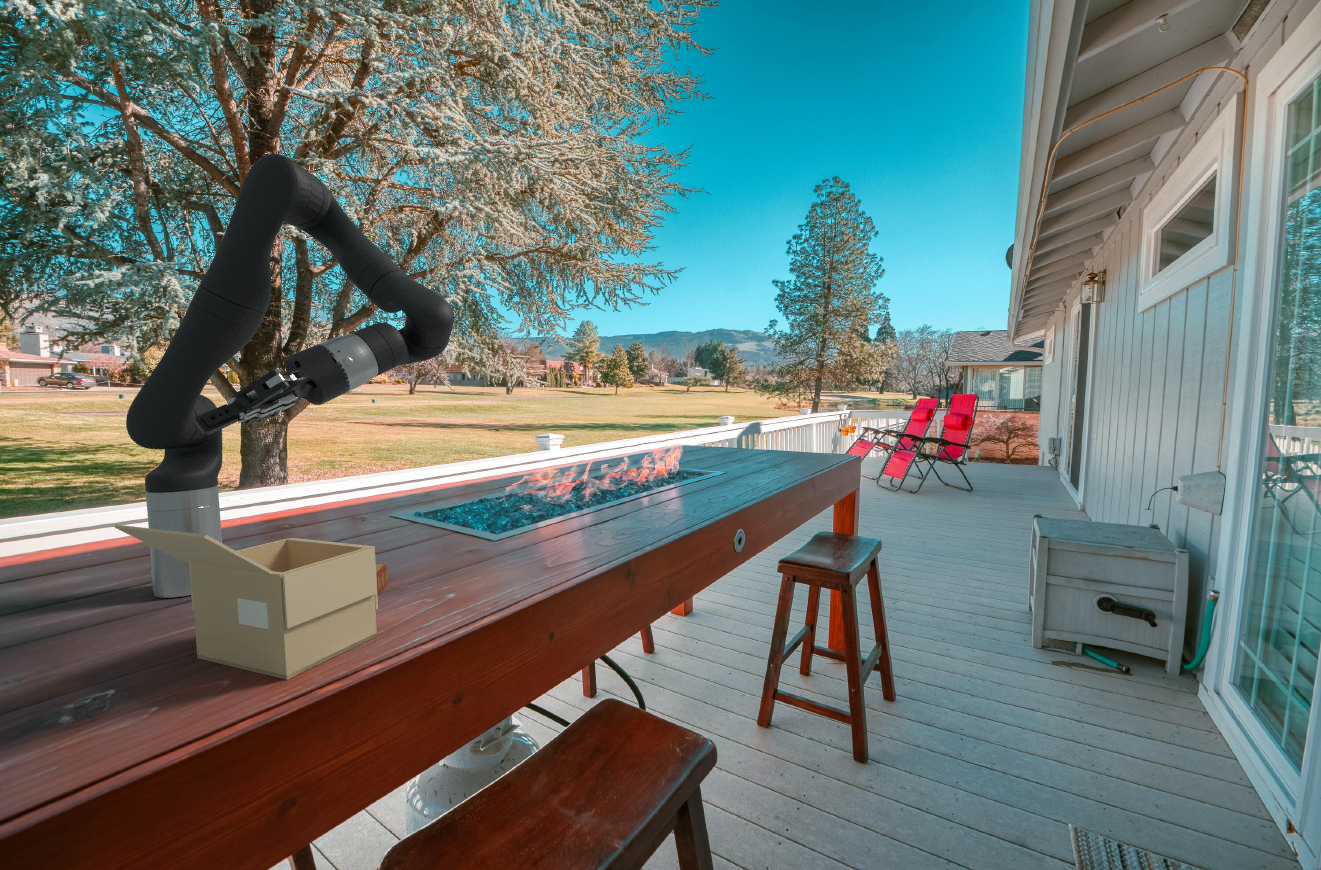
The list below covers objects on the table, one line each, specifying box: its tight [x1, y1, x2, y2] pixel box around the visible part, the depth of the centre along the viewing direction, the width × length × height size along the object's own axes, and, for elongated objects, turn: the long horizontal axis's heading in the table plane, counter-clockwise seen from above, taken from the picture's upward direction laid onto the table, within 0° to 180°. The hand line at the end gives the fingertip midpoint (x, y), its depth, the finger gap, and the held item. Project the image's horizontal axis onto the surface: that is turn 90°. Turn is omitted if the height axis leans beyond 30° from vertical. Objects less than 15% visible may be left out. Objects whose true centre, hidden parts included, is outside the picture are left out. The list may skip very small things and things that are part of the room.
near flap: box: [113, 524, 273, 574], centre depth 61 cm, size 16×8×1 cm
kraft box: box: [189, 537, 379, 681], centre depth 70 cm, size 17×13×12 cm
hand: (199, 427), depth 67 cm, fingers closed
